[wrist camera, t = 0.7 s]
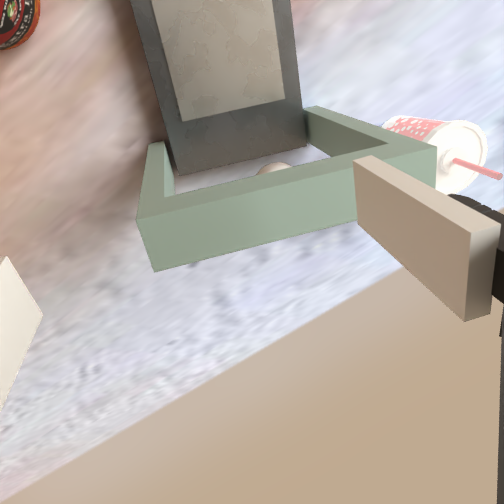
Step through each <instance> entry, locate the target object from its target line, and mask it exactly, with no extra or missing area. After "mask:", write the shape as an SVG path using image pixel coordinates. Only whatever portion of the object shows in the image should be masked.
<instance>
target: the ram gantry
mask: <svg viewBox="0 0 504 504" xmlns="http://www.w3.org/2000/svg"><path fill="white" fill-rule="evenodd" d="M303 118H304V126H305V135H306V141H307V142H308V143H310V144H311V145H313V146H315V147H316V148H318V149H320V150H321V151H323V152H324V153H326V154H328V155H329V156H331V158H327V159H323V160H318V161H314V162H310V163H306V164H302V165H298V166H294V167H292V166H290V165H288V164H286V163H282V162H275V163H271V164H268V165H266V166H264V167H263V168H262V169H261V170H260V171H259V172H258V173H257V174H256V176H252V177H248V178H244V179H240V180H235V181H231V182H227V183H223V184H219V185H215V186H211V187H206V188H202V189H198V190H194V191H190V192H186V193H182V194H177V195H175V186H174V173H173V169H172V166H171V162H170V159H169V155H168V152H167V148H166V145H165V141H160V142H155V143H151V144H149V146H148V152H147V158H146V163H145V169H144V175H143V181H142V187H141V193H140V198H139V204H138V210H137V216H136V223H137V226H138V228H139V231H140V234H141V237H142V240H143V242H144V245H145V248H146V251H147V254H148V256H149V259H150V262H151V265H152V268H153V271H154V272H158V271H162V270H166V269H170V268H174V267H178V266H181V265H185V264H189V263H193V262H197V261H201V260H205V259H209V258H212V257H216V256H220V255H224V254H228V253H232V252H236V251H240V250H243V249H247V248H251V247H255V246H259V245H263V244H267V243H271V242H274V241H278V240H282V239H286V238H290V237H294V236H298V235H302V234H305V233H309V232H313V231H317V230H321V229H325V228H329V227H333V226H336V225H340V224H344V223H348V222H352V221H356V220H358V219H357V208H356V196H355V184H354V172H353V160H355V159H359V158H363V157H366V156H370V155H372V156H374V157H376V158H378V159H380V160H382V161H383V162H385V163H387V164H389V165H391V166H393V167H395V168H397V169H398V170H400V171H402V172H404V173H406V174H408V175H410V176H412V177H413V178H415V179H417V180H419V181H421V182H423V183H425V184H427V185H429V186H430V187H432V188H434V189H436V168H437V146H434V145H431V144H428V143H425V142H422V141H419V140H416V139H414V138H411V137H408V136H405V135H402V134H399V133H396V132H393V131H390V130H387V129H384V128H381V127H378V126H375V125H372V124H369V123H366V122H363V121H360V120H357V119H354V118H352V117H349V116H346V115H343V114H340V113H337V112H334V111H331V110H328V109H325V108H322V107H319V106H313V107H309V108H304V109H303Z"/></svg>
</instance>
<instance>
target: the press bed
mask: <svg viewBox="0 0 504 504" xmlns="http://www.w3.org/2000/svg"><path fill="white" fill-rule="evenodd" d="M130 2H131V6H132V9H133V13H134V16H135V20H136V23H137V27H138V31H139V34H140V38H141V41H142V45H143V48H144V52H145V56H146V59H147V63H148V66H149V70H150V73H151V77H152V81H153V84H154V88H155V91H156V95H157V98H158V102H159V106H160V109H161V113H162V116H163V120H164V123H165V127H166V130H167V134H168V138H169V141H170V145H171V148H172V152H173V155H174V159H175V163H176V166H177V170H178V173H179V176H182V175H187V174H191V173H195V172H199V171H203V170H208V169H212V168H216V167H220V166H225V165H229V164H233V163H237V162H241V161H246V160H250V159H254V158H258V157H263V156H267V155H271V154H275V153H279V152H284V151H288V150H292V149H296V148H300V147H305V146H307V144H306V135H305V126H304V118H303V109H302V100H301V91H300V82H299V74H298V65H297V56H296V47H295V39H294V30H293V21H292V12H291V3H290V0H130Z"/></svg>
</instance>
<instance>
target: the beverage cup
mask: <svg viewBox="0 0 504 504" xmlns="http://www.w3.org/2000/svg"><path fill="white" fill-rule="evenodd" d="M381 128H384V129H387V130H390V131H393V132H396V133H399V134H402V135H405V136H408V137H411V138H414V139H416V140H419V141H422V142H425V143H428V144H431V145H434V146H437V168H436V190H438V191H440V192H442V193H444V194H445V195H448V194H455V193H457V192H459V191H460V190H462V189H464V188H466V187H467V186H468V185H469V184H470V183H471V182H472V181H473V180H474V179H475V178H476V177H477V176H478V174H479V173H481V174H483V175H486V176H489V177H491V178H494V179H497V180H500V179H501V178H502V176H503V175H502V174H501V173H498V172H495V171H493V170H490V169H487V168H484V167H483V165H484V163H485V159H486V154H487V149H488V147H487V141H486V136H485V134H484V132H483V131H482V130H481V129H480V127H479V126H478V125H476V124H473V123H471V122H468V121H465V120H462V121H461V120H454V121H440V120H432V119H425V118H417V117H410V116H395V117H392V118H391V119H389V120H387V121H386V122H385V123H384V124H383V125H382V126H381Z"/></svg>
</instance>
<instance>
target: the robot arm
mask: <svg viewBox="0 0 504 504" xmlns="http://www.w3.org/2000/svg"><path fill="white" fill-rule="evenodd" d="M353 172H354V184H355V196H356V208H357V219H358V225H360V226H361V227H362V228H363V229H364V230H365V231H366V232H367V233H368V234H369V235H370V236H371V237H373V238H374V239H375V240H376V241H377V242H378V243H379V244H380V245H381V246H382V247H383V248H384V249H386V250H387V251H388V252H389V253H390V254H391V255H392V256H393V257H394V258H395V259H396V260H397V261H399V262H400V263H401V264H402V265H403V266H404V267H405V268H406V269H407V270H408V271H409V272H410V273H411V274H413V275H414V276H415V277H416V278H417V279H418V280H419V281H420V282H421V283H422V284H423V285H425V286H426V287H427V288H428V289H429V290H430V291H431V292H432V293H433V294H434V295H435V296H436V297H438V298H439V299H440V300H441V301H442V302H443V303H444V304H445V305H446V306H447V307H448V308H449V309H450V310H452V311H453V312H454V313H455V314H456V315H457V316H458V317H459V318H460V319H461V320H462V321H464V322H466V321H469V320H472V319H475V318H479V317H482V316H485V315H488V314H490V311H491V303H492V295H493V296H494V297H495V298H497V299H498V300H499V301H500V302H502V303H503V304H504V215H503V214H501V213H499V212H497V211H495V210H491V208H489V207H487V206H485V205H481V203H479V202H477V201H475V200H473V199H471V198H469V197H465V196H461V195H456V194H448V195H445V194H444V193H442V192H440V191H438V190H436V189H434V188H432V187H430V186H429V185H427V184H425V183H423V182H421V181H419V180H417V179H415V178H413V177H412V176H410V175H408V174H406V173H404V172H402V171H400V170H398V169H397V168H395V167H393V166H391V165H389V164H387V163H385V162H383V161H382V160H380V159H378V158H376V157H374V156H372V155H370V156H366V157H363V158H359V159H355V160H353ZM42 317H43V314H42V312H41V310H40V309H39V307H38V305H37V304H36V302H35V301H34V299H33V297H32V296H31V294H30V292H29V291H28V289H27V288H26V286H25V284H24V283H23V281H22V279H21V278H20V276H19V275H18V273H17V271H16V270H15V268H14V266H13V265H12V263H11V262H10V260H9V258H8V257H7V256H5V257H1V258H0V412H1V409H2V407H3V405H4V403H5V400H6V398H7V396H8V394H9V391H10V389H11V387H12V384H13V382H14V380H15V378H16V375H17V373H18V371H19V369H20V366H21V364H22V362H23V360H24V357H25V355H26V353H27V351H28V348H29V346H30V344H31V342H32V339H33V337H34V335H35V333H36V330H37V328H38V326H39V323H40V321H41V319H42ZM499 336H500V337H502V344H501V378H500V381H501V382H500V412H499V414H500V415H499V448H498V451H499V452H498V481H497V483H498V484H497V504H504V307H503V314H502V321H501V328H500V335H499Z"/></svg>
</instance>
